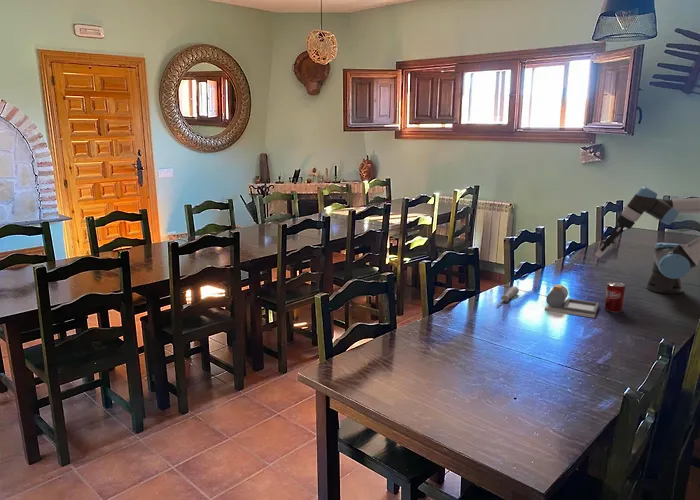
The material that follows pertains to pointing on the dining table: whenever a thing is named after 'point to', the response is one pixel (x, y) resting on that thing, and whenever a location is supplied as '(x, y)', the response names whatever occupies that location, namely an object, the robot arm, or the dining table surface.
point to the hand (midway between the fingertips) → (598, 254)
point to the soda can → (614, 297)
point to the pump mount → (569, 303)
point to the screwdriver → (509, 294)
